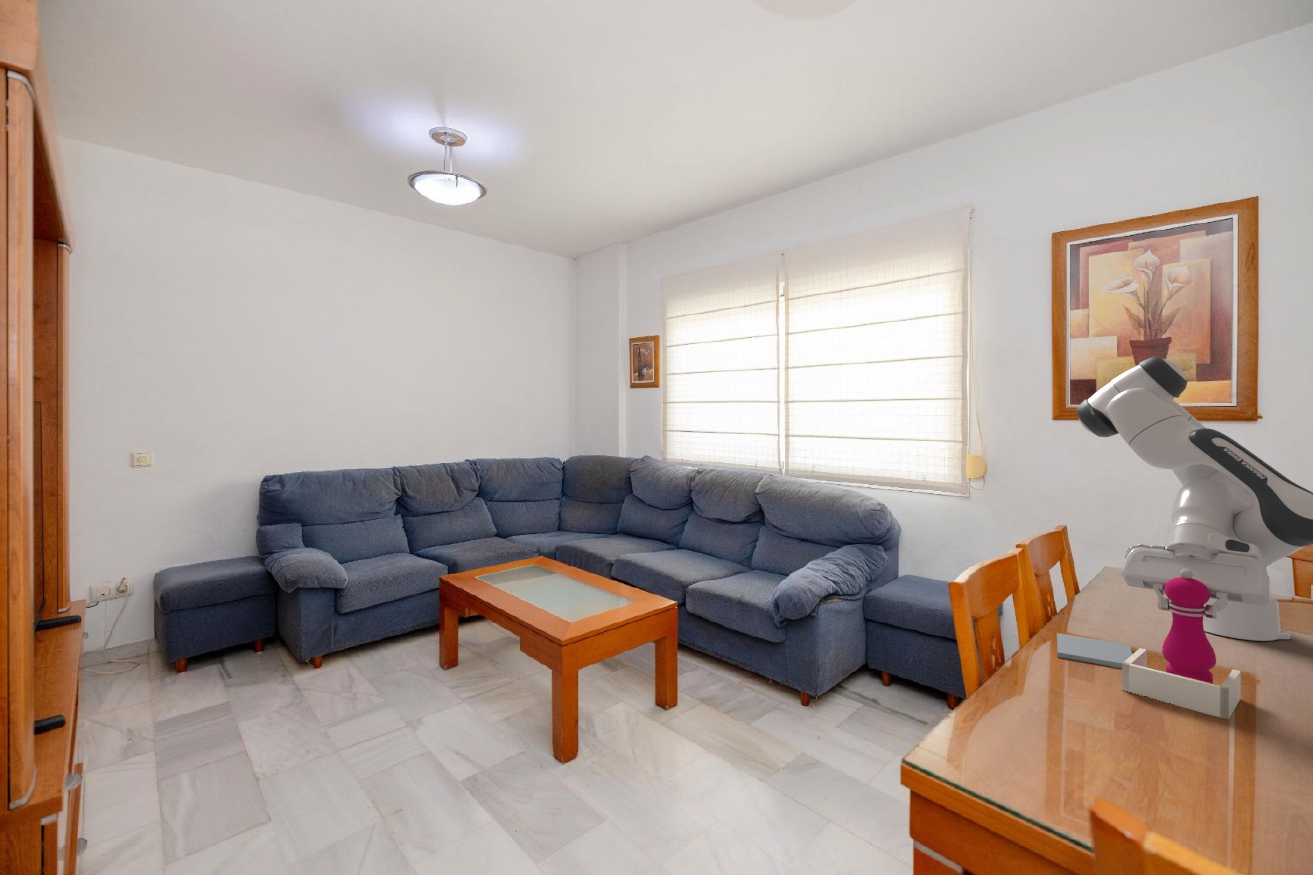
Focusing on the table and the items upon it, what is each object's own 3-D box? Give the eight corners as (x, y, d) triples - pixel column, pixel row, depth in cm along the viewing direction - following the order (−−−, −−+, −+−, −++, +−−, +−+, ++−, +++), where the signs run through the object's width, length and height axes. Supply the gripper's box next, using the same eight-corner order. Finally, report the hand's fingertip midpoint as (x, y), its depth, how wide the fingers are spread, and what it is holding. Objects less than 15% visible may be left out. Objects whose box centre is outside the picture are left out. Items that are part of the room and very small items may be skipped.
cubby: (1140, 673, 114) (1140, 647, 114) (1240, 698, 103) (1240, 670, 103) (1122, 690, 106) (1122, 663, 106) (1228, 719, 95) (1228, 689, 95)
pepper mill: (1228, 689, 101) (1225, 574, 100) (1180, 687, 102) (1177, 574, 102) (1197, 671, 108) (1194, 564, 107) (1153, 670, 109) (1150, 564, 109)
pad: (1056, 637, 134) (1056, 633, 134) (1129, 649, 126) (1129, 644, 126) (1057, 656, 122) (1057, 652, 122) (1137, 670, 115) (1137, 665, 115)
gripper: (1124, 533, 117) (1111, 591, 111) (1271, 547, 101) (1265, 615, 95) (1131, 552, 120) (1118, 609, 114) (1275, 568, 104) (1269, 635, 98)
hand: (1186, 612), depth 104 cm, fingers closed on pepper mill, 5 cm apart
